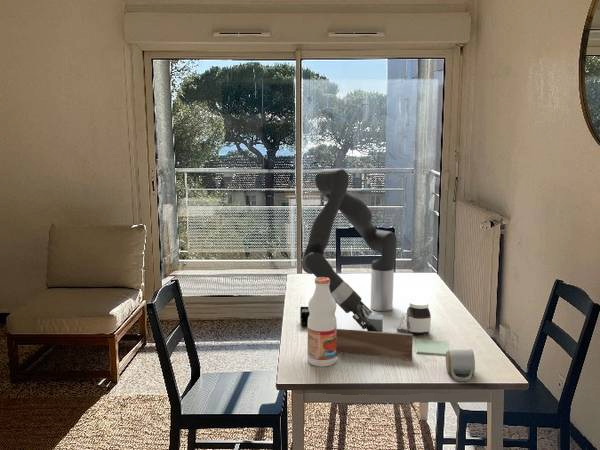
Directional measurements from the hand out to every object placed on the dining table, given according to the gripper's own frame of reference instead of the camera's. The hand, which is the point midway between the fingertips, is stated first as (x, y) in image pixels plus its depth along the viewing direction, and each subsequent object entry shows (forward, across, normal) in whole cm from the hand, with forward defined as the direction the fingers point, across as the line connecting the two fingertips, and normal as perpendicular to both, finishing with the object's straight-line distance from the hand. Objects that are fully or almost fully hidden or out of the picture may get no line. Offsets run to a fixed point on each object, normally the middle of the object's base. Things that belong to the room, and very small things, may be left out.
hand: (377, 329), depth 204 cm
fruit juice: (-8, -19, +16) cm, 26 cm away
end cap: (-14, +16, +22) cm, 31 cm away
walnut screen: (+3, -10, +4) cm, 11 cm away
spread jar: (+12, +15, -5) cm, 20 cm away
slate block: (+3, 0, +4) cm, 5 cm away
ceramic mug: (+23, -20, -16) cm, 35 cm away
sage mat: (+17, 0, -10) cm, 20 cm away
